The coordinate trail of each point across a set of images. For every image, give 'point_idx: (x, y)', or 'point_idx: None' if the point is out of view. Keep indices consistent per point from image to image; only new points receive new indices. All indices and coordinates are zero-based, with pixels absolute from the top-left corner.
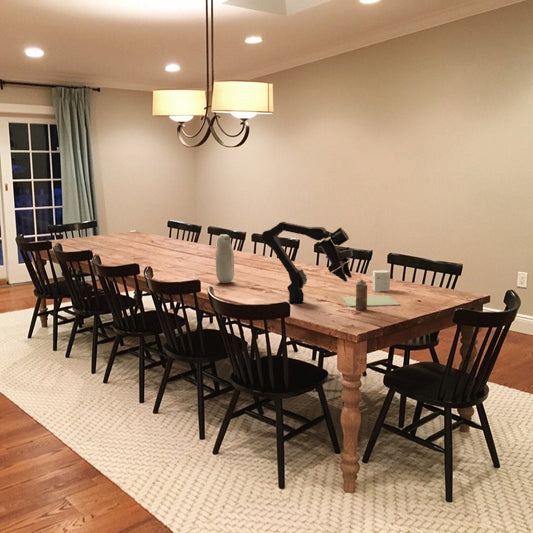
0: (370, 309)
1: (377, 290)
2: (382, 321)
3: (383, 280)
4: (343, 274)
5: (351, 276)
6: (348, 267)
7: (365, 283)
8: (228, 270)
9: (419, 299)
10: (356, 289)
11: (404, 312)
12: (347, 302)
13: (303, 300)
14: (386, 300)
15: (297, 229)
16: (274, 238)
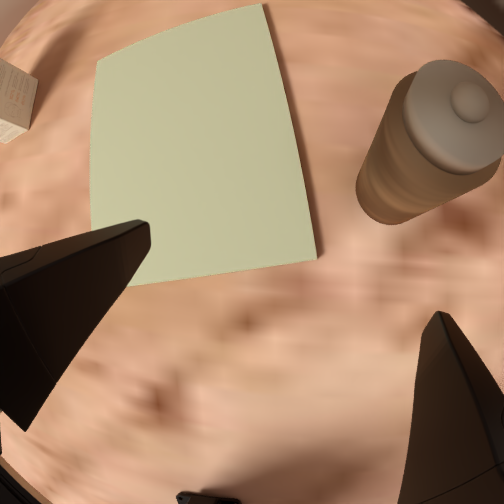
0: (369, 133)
1: (26, 118)
2: None
3: (2, 83)
4: (502, 410)
5: (145, 223)
6: (5, 269)
7: (479, 80)
8: None
9: None
10: (458, 196)
11: (393, 7)
12: (226, 268)
13: (215, 499)
14: (182, 52)
15: None
16: None
